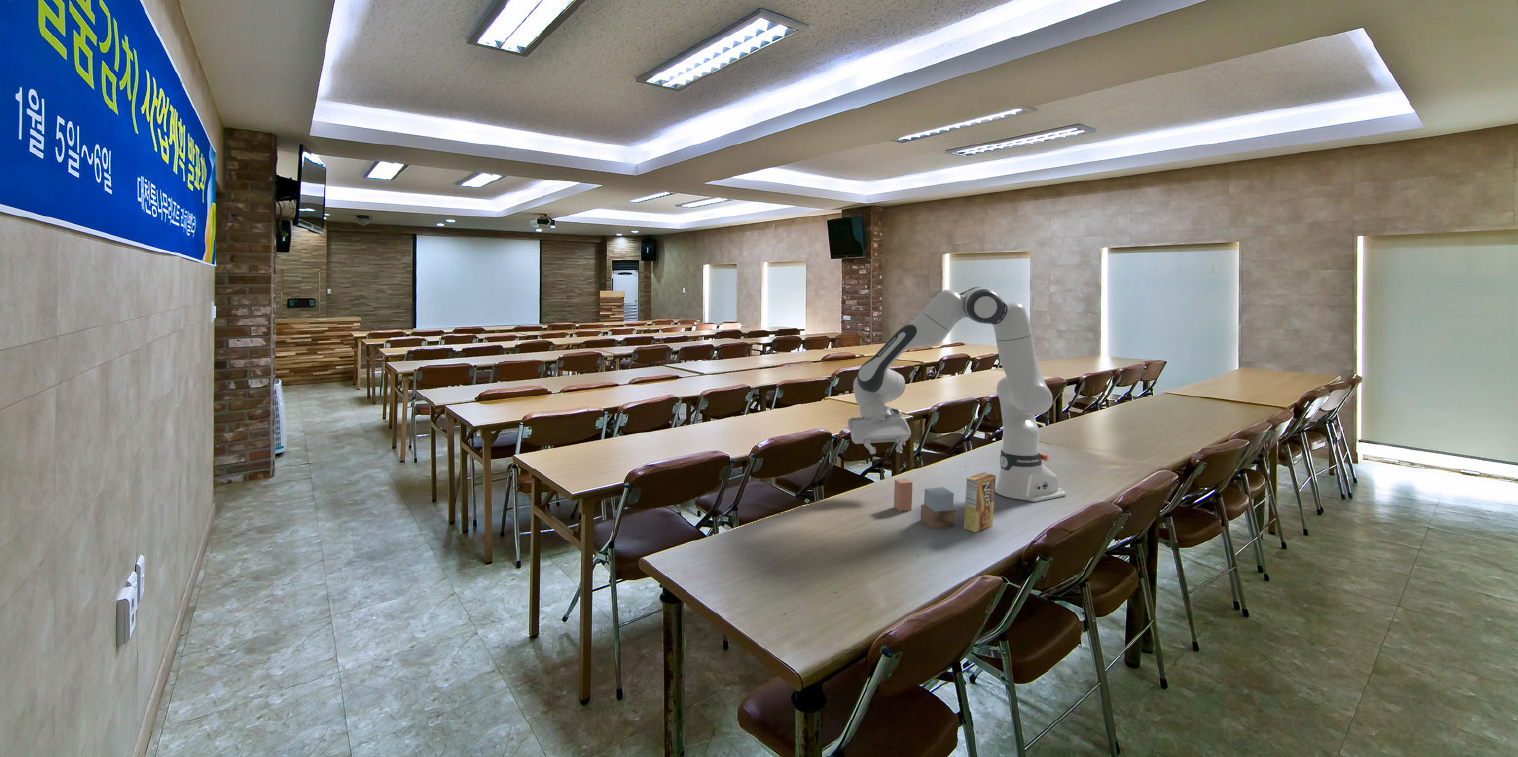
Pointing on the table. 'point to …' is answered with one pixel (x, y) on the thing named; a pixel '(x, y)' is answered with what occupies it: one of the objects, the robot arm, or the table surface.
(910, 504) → the post
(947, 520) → the tower base
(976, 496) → the candy box
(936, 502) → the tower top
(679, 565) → the table surface
